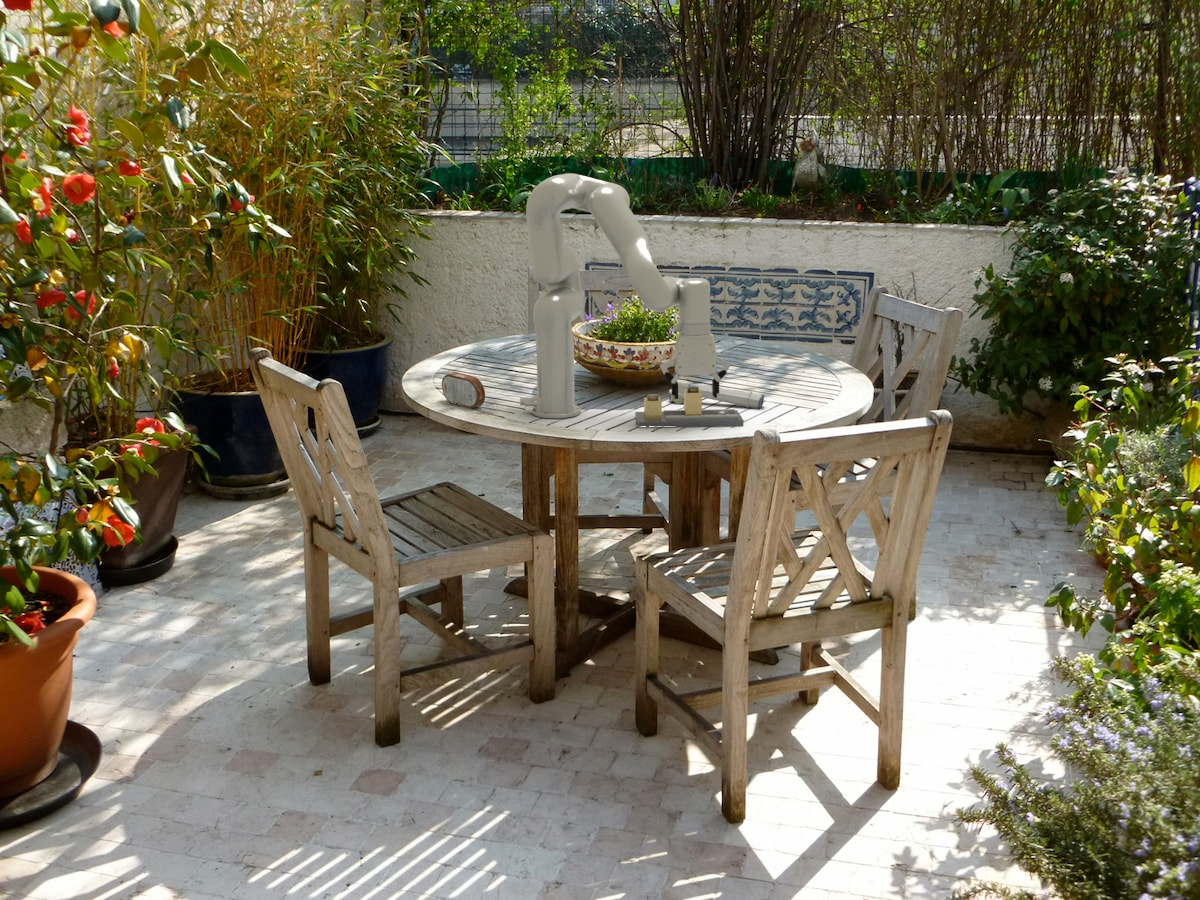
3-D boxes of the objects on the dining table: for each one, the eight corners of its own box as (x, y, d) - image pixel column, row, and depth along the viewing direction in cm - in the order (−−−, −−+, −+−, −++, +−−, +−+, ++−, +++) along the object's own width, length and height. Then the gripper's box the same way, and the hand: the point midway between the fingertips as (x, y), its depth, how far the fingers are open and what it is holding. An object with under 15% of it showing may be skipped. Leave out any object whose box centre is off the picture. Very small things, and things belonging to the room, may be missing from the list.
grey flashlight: (761, 396, 305) (669, 377, 312) (757, 421, 307) (665, 401, 314) (765, 392, 310) (674, 373, 316) (761, 416, 312) (670, 397, 319)
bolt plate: (638, 427, 290) (638, 418, 289) (635, 417, 300) (635, 408, 299) (743, 426, 291) (743, 417, 291) (736, 415, 301) (737, 407, 300)
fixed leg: (645, 418, 293) (645, 397, 291) (644, 414, 296) (644, 393, 295) (661, 418, 293) (661, 396, 291) (659, 414, 297) (660, 393, 295)
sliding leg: (685, 416, 293) (686, 389, 291) (683, 412, 297) (684, 385, 295) (701, 416, 293) (702, 388, 291) (699, 412, 297) (700, 385, 295)
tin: (486, 409, 309) (485, 377, 307) (477, 411, 307) (476, 379, 305) (449, 399, 319) (448, 369, 317) (440, 402, 317) (439, 371, 315)
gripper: (661, 333, 285) (662, 402, 290) (732, 330, 286) (732, 399, 290) (658, 327, 292) (659, 395, 297) (727, 325, 293) (727, 392, 298)
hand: (695, 397), depth 294 cm, fingers open, 9 cm apart
